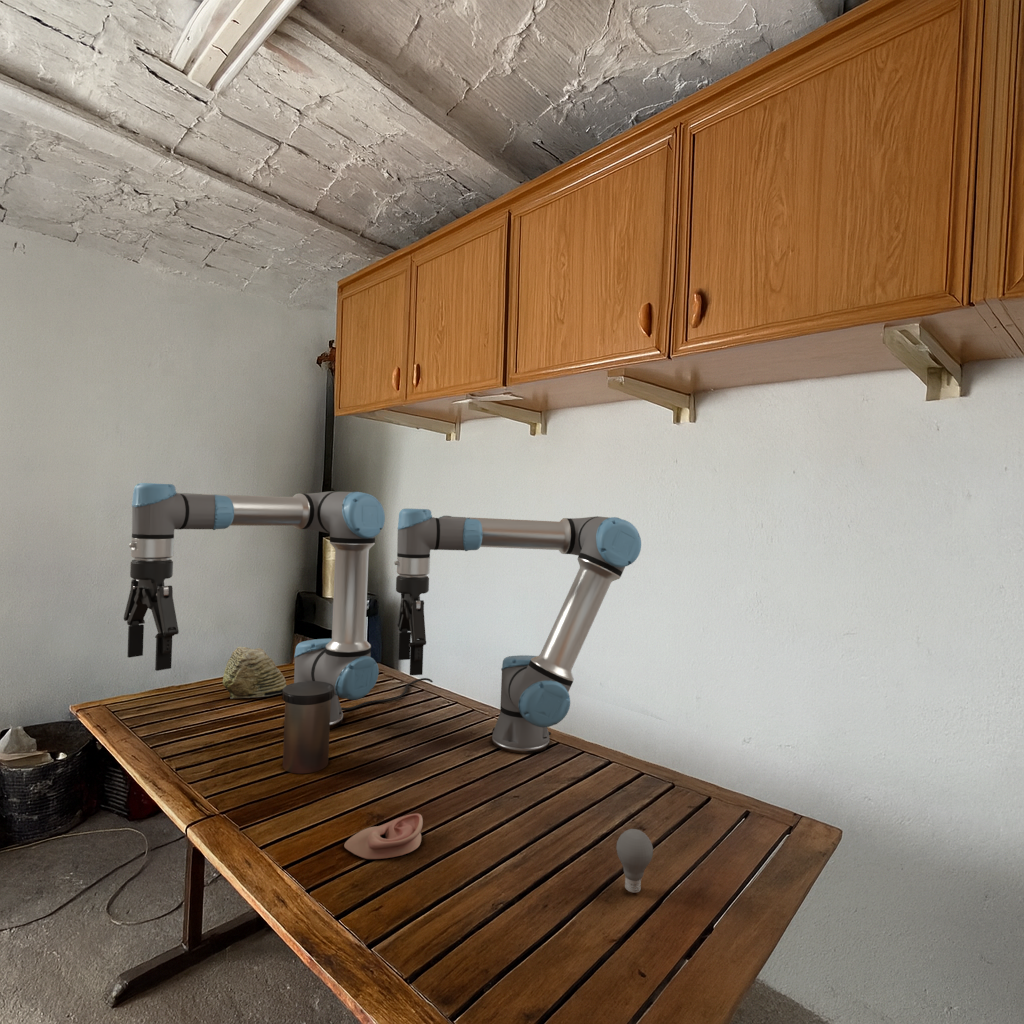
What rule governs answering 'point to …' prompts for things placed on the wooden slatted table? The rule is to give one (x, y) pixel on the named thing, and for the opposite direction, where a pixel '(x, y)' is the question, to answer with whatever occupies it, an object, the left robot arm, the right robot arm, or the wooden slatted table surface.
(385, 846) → the anatomical model
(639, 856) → the light bulb
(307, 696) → the lid
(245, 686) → the fossil
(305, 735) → the jar
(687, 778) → the wooden slatted table surface
